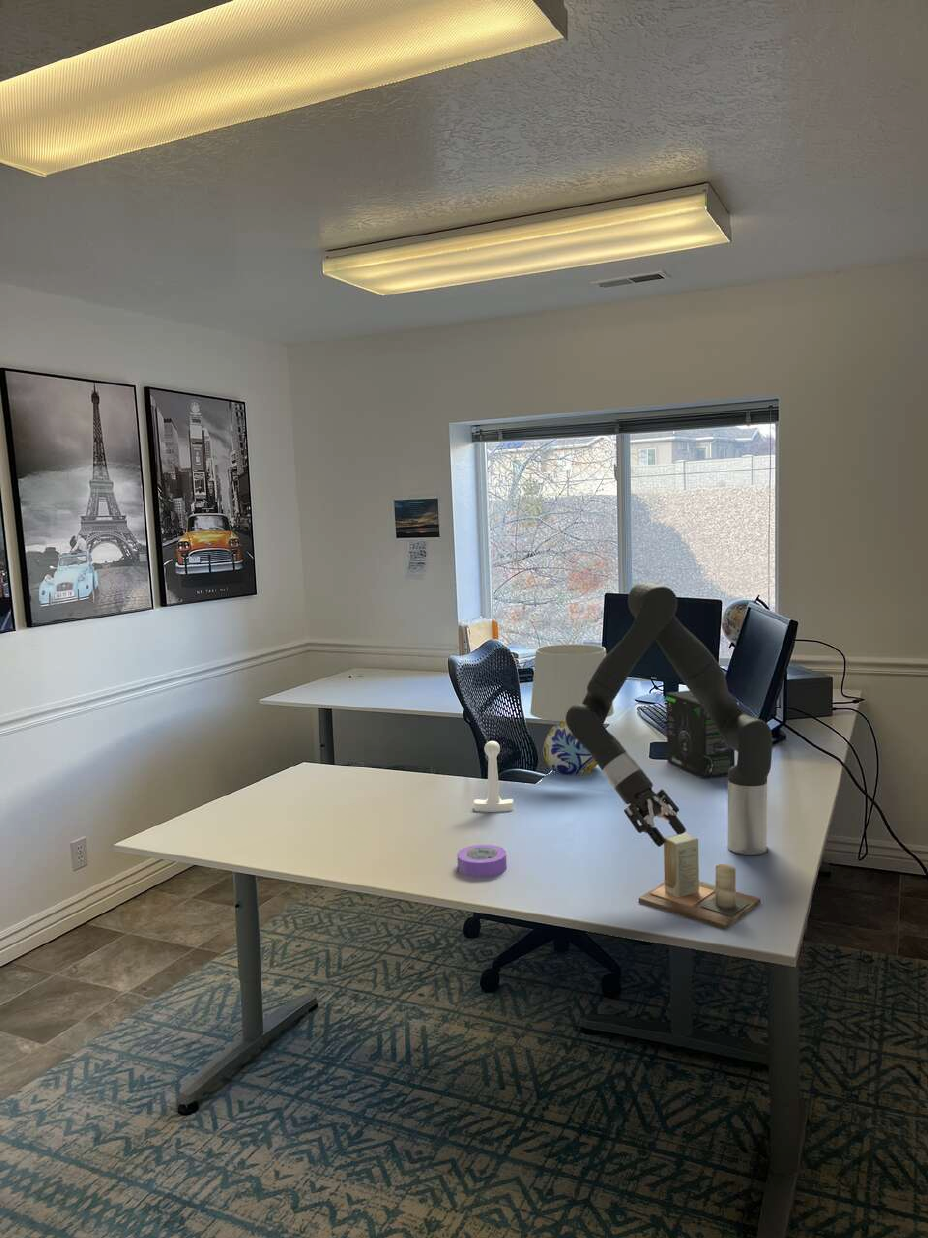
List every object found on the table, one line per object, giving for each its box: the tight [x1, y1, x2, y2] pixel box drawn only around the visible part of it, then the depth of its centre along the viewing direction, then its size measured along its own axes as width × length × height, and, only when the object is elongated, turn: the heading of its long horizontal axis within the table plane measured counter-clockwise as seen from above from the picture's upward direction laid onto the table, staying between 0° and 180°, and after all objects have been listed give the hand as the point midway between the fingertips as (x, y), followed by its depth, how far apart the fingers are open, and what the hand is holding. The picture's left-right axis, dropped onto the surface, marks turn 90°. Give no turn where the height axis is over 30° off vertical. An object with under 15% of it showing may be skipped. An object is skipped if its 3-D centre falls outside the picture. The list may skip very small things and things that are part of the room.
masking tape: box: [457, 844, 508, 878], centre depth 212 cm, size 12×12×4 cm
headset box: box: [665, 689, 736, 779], centre depth 287 cm, size 22×12×26 cm, turn 17°
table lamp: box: [529, 643, 615, 776], centre depth 289 cm, size 27×27×40 cm
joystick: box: [473, 740, 514, 813], centre depth 254 cm, size 11×8×20 cm
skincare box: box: [663, 832, 700, 898], centre depth 191 cm, size 6×4×12 cm
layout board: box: [638, 863, 762, 931], centre depth 189 cm, size 16×20×9 cm
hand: (673, 838), depth 192 cm, fingers open, 8 cm apart
